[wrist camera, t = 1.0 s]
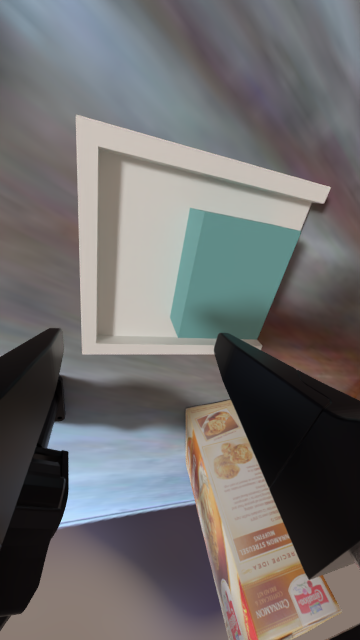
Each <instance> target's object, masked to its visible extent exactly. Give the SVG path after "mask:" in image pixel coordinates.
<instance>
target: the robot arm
mask: <svg viewBox="0 0 360 640" xmlns="http://www.w3.org/2000/svg"><path fill="white" fill-rule="evenodd" d="M63 352H64V344H63V332H62V329H60V328H49V329H47V330H45V331H44V332H42V333H40V334H39V335H37V336H35V337H33V338H32V339H30V340H28V341H27V342H25V343H23V344H21V345H20V346H18V347H16V348H15V349H13V350H11V351H10V352H8V353H6V354H4V355H3V356H1V357H0V631H1V629H2V628H3V626H4V625H5V623H6V622H7V621H8V619H9V618H10V616H11V615H16V614H21V613H22V612H23V611H24V610H25V608H26V607H27V605H28V604H29V602H30V600H31V598H32V597H33V595H34V593H35V591H36V590H37V588H38V586H39V583H40V578H41V574H42V570H43V566H44V562H45V557H46V554H47V550H48V546H49V543H50V540H51V538H52V537H53V536H54V534H55V532H56V531H57V528H58V526H59V524H60V522H61V519H62V517H63V514H64V510H65V507H66V503H67V498H68V451H63V450H62V451H58V450H52V449H47V446H48V442H49V439H50V435H51V431H52V428H53V424H54V421H62V420H64V418H65V406H64V394H63V382H62V378H61V377H59V372H60V367H61V362H62V357H63ZM214 354H215V357H216V360H217V364H218V367H219V370H220V374H221V377H222V380H223V382H224V385H225V387H226V390H227V392H228V394H229V397H230V399H231V401H232V404H233V406H234V408H235V411H236V413H237V415H238V418H239V420H240V422H241V425H242V427H243V429H244V432H245V434H246V436H247V439H248V441H249V443H250V446H251V448H252V450H253V453H254V455H255V457H256V460H257V462H258V464H259V467H260V469H261V471H262V474H263V476H264V478H265V481H266V483H267V485H268V487H269V490H270V493H271V495H272V497H273V500H274V502H275V504H276V507H277V509H278V511H279V514H280V516H281V518H282V521H283V523H284V525H285V528H286V530H287V532H288V535H289V537H290V539H291V542H292V544H293V546H294V549H295V551H296V553H297V556H298V558H299V560H300V563H301V565H302V567H303V570H304V572H305V574H306V576H307V578H308V579H309V580H311V579H314V578H316V577H319V576H321V575H324V574H327V573H329V572H332V571H335V570H337V569H340V568H343V567H345V566H348V565H350V564H353V563H356V565H357V566H358V568H359V570H360V401H359V400H357V399H355V398H353V397H351V396H349V395H347V394H344V393H342V392H340V391H338V390H336V389H334V388H332V387H330V386H328V385H326V384H324V383H322V382H320V381H318V380H316V379H314V378H312V377H310V376H308V375H306V374H304V373H302V372H301V371H299V370H296V369H295V368H293V367H291V366H289V365H287V364H286V363H284V362H282V361H280V360H278V359H276V358H274V357H272V356H271V355H269V354H267V353H265V352H263V351H261V350H259V349H257V348H256V347H254V346H252V345H250V344H248V343H246V342H244V341H242V340H241V339H239V338H237V337H235V336H233V335H231V334H229V333H219V334H218V336H217V339H216V343H215V346H214ZM326 640H360V623H359V624H357V625H355V626H353V627H351V628H349V629H347V630H345V631H342V632H341V633H338V634H336V635H334V636H332V637H330V638H328V639H326Z"/></svg>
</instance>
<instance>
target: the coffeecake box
mask: <svg viewBox="0 0 360 640" xmlns="http://www.w3.org/2000/svg"><path fill="white" fill-rule="evenodd" d="M186 466H187V470H188V474H189V478H190V482H191V486H192V490H193V494H194V498H195V502H196V506H197V510H198V515H199V519H200V523H201V527H202V531H203V535H204V539H205V543H206V547H207V551H208V556H209V559H210V564H211V568H212V572H213V577H214V581H215V585H216V589H217V593H218V597H219V601H220V605H221V609H222V614H223V617H224V622H225V625H226V630H227V634H228V638H229V640H292V639H294V638H296V637H298V636H300V635H302V634H304V633H306V632H308V631H310V630H311V629H313V628H315V627H317V626H318V625H320V624H322V623H323V622H325V621H327V620H328V619H330V618H332V617H334V616H336V615H338V614H341V613H342V609H341V608H340V606H339V605H338V603H337V601H336V600H335V598H334V596H333V594H332V592H331V590H330V588H329V586H328V585H327V583H326V581H325V579H324V577H323V575H321V576H319V577H316V578H314V579H311V580H309V579H308V578H307V576H306V574H305V572H304V570H303V567H302V565H301V563H300V560H299V558H298V556H297V553H296V551H295V549H294V546H293V544H292V542H291V539H290V537H289V535H288V532H287V530H286V528H285V525H284V523H283V521H282V518H281V516H280V514H279V511H278V509H277V507H276V504H275V502H274V500H273V497H272V495H271V493H270V490H269V487H268V485H267V483H266V481H265V478H264V476H263V474H262V471H261V469H260V467H259V464H258V462H257V460H256V457H255V455H254V453H253V450H252V448H251V446H250V443H249V441H248V439H247V436H246V434H245V432H244V429H243V427H242V425H241V422H240V420H239V418H238V415H237V413H236V411H235V408H234V406H233V404H232V401H231V400H226V401H222V402H218V403H212V404H206V405H200V406H195V407H191V408H186Z"/></svg>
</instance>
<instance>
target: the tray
mask: <svg viewBox="0 0 360 640" xmlns="http://www.w3.org/2000/svg"><path fill="white" fill-rule="evenodd" d="M76 142H77V179H78V217H79V254H80V292H81V329H82V354H214V346H215V343H216V339H208V338H178V337H177V334H176V332H175V329H174V327H173V324H172V322H171V319H170V314H171V309H172V303H173V298H174V292H175V287H176V282H177V276H178V271H179V265H180V260H181V254H182V249H183V243H184V238H185V232H186V227H187V221H188V216H189V211H190V208H194V209H199V210H204V211H209V212H214V213H219V214H224V215H229V216H234V217H239V218H243V219H248V220H253V221H258V222H263V223H268V224H273V225H278V226H282V227H286V228H290V229H295V230H299V231H300V230H301V228H302V226H303V223H304V221H305V218H306V216H307V213H308V211H309V208H310V206H311V203H321V204H324V202H325V200H326V198H327V195H328V193H329V191H330V188H331V187H328V186H325V185H321V184H318V183H314V182H311V181H307V180H304V179H300V178H296V177H293V176H289V175H286V174H282V173H279V172H275V171H272V170H268V169H265V168H261V167H258V166H254V165H251V164H247V163H244V162H240V161H237V160H233V159H230V158H226V157H223V156H219V155H216V154H212V153H209V152H205V151H202V150H198V149H195V148H191V147H188V146H184V145H181V144H177V143H174V142H170V141H167V140H163V139H160V138H156V137H153V136H149V135H146V134H142V133H139V132H135V131H132V130H128V129H125V128H121V127H118V126H114V125H111V124H107V123H104V122H100V121H97V120H93V119H90V118H86V117H83V116H79V115H76ZM241 340H242V341H244V342H246V343H248V344H250V345H252V346H254V347H256V348H257V349H259V350H261V348H262V345H261V343H260V342H259V341H258V340H254V339H241Z"/></svg>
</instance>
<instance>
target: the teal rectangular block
mask: <svg viewBox="0 0 360 640" xmlns="http://www.w3.org/2000/svg"><path fill="white" fill-rule="evenodd" d="M300 234H301V231H299V230H295V229H290V228H286V227H282V226H278V225H273V224H268V223H263V222H258V221H253V220H248V219H243V218H239V217H234V216H229V215H224V214H219V213H214V212H209V211H204V210H199V209H194V208H190V211H189V216H188V221H187V227H186V232H185V238H184V243H183V249H182V254H181V260H180V265H179V271H178V276H177V282H176V287H175V292H174V298H173V303H172V309H171V314H170V319H171V322H172V324H173V327H174V329H175V332H176V334H177V337H178V338H208V339H217V336H218V334H219V333H229V334H231V335H233V336H235V337H237V338H239V339H254V340H257V338H258V336H259V334H260V331H261V329H262V326H263V324H264V321H265V319H266V316H267V314H268V312H269V309H270V307H271V304H272V302H273V299H274V297H275V295H276V292H277V290H278V287H279V285H280V282H281V280H282V277H283V275H284V273H285V270H286V268H287V265H288V263H289V260H290V258H291V256H292V253H293V251H294V248H295V246H296V243H297V241H298V238H299V236H300Z"/></svg>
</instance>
